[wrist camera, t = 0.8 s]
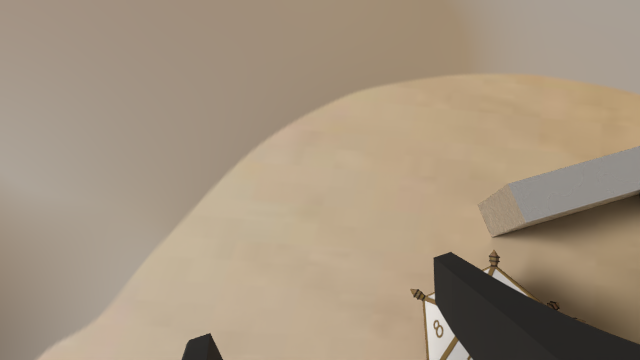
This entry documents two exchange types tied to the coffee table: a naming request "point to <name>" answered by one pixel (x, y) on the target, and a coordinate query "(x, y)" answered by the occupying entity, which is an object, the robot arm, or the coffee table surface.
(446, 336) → the game die
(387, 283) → the coffee table surface
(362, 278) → the coffee table surface
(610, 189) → the press frame
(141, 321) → the coffee table surface
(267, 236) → the coffee table surface
